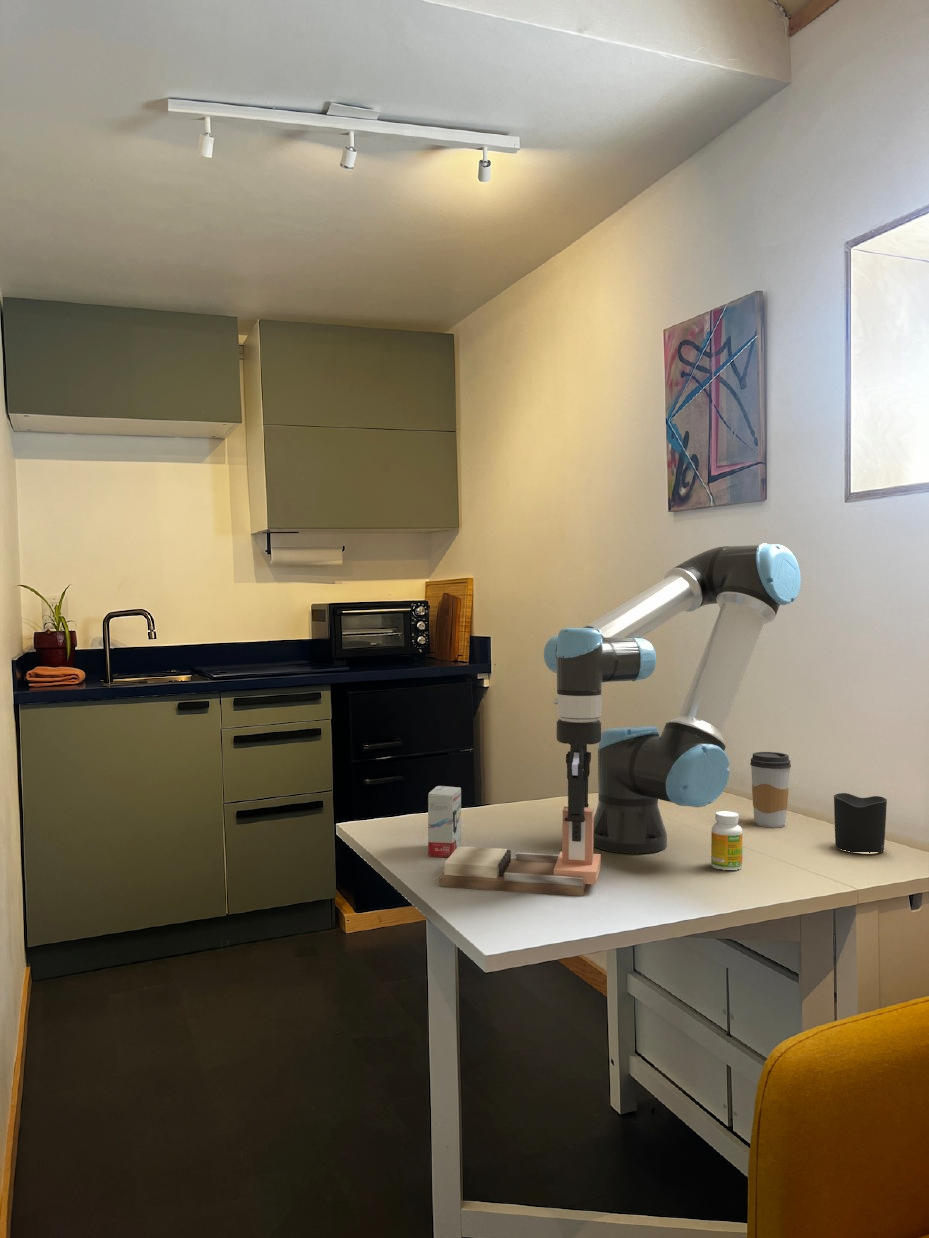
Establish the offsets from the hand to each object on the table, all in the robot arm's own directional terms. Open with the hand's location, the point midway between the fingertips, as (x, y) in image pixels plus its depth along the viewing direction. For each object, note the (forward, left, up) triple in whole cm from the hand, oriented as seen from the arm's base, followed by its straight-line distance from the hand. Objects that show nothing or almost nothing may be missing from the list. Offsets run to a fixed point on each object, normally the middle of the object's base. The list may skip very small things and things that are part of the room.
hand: (578, 855), depth 159 cm
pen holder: (-51, -33, -5) cm, 61 cm away
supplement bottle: (-25, -15, -5) cm, 30 cm away
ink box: (+27, -14, -5) cm, 30 cm away
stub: (0, 0, -3) cm, 3 cm away
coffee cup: (-37, -50, -5) cm, 62 cm away
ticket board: (+11, 0, -5) cm, 12 cm away
